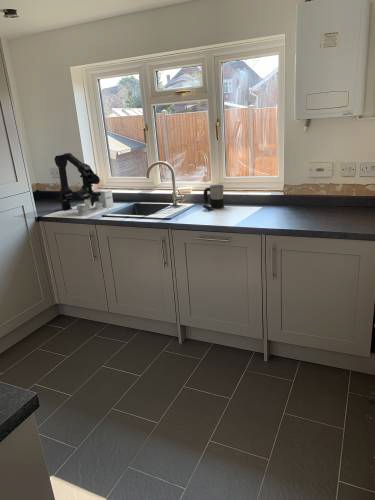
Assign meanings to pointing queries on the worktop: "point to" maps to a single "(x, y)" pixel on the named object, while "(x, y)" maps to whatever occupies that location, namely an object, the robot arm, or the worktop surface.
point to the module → (89, 203)
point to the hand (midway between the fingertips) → (90, 205)
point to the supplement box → (106, 198)
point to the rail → (84, 209)
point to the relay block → (79, 205)
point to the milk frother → (214, 197)
